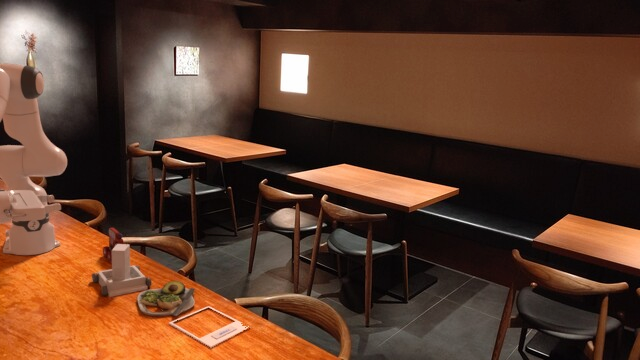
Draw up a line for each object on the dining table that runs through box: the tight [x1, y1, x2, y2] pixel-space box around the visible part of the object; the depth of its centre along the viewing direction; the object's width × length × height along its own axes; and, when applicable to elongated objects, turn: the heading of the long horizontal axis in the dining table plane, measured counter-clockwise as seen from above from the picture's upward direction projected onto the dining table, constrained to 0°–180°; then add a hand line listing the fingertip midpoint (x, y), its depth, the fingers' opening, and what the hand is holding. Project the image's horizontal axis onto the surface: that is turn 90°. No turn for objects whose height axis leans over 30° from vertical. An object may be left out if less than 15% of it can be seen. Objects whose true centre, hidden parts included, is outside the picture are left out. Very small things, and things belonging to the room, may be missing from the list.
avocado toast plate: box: [136, 280, 196, 317], centre depth 155 cm, size 19×18×5 cm
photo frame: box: [168, 305, 249, 349], centre depth 145 cm, size 15×1×18 cm
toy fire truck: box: [102, 227, 125, 263], centre depth 186 cm, size 7×12×10 cm, turn 40°
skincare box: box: [111, 243, 131, 282], centre depth 165 cm, size 6×4×12 cm
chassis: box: [91, 264, 152, 298], centre depth 166 cm, size 15×15×4 cm
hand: (57, 202), depth 149 cm, fingers open, 8 cm apart
